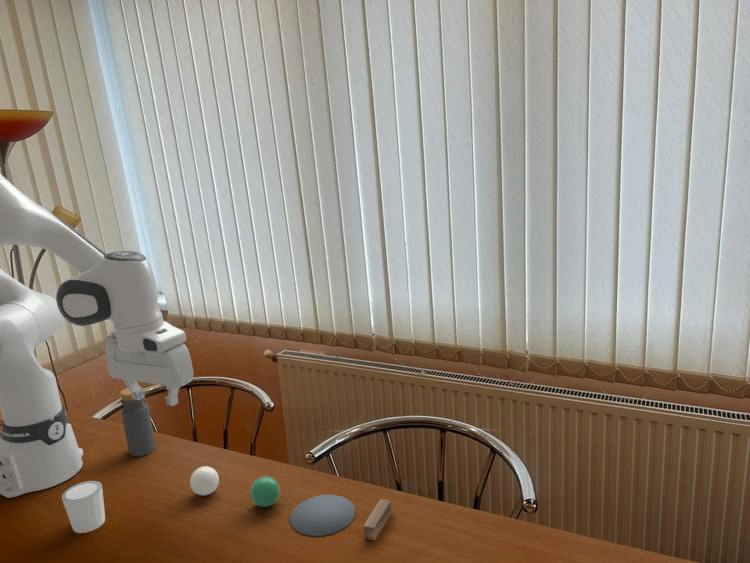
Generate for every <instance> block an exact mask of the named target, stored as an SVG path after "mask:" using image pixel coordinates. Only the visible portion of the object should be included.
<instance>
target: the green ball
mask: <svg viewBox="0 0 750 563" xmlns="http://www.w3.org/2000/svg"><path fill="white" fill-rule="evenodd" d="M280 489H281V488H280V485H279V483H278V482H277V480H275V478H273V477H270V476H265V475H264V476H260V477H259V478H257V479H256V480H255V481H254V482H253V483H252V485H251V487H250V492H249V495H250V499H251V501H252V502H253V504H255V506H258V507H259V508H261V507H262V508H268V507H270V506H273V505H274V504H275V503H276V502H277V500H278V499H279V496H280Z"/></svg>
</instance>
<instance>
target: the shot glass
mask: <svg viewBox="0 0 750 563" xmlns="http://www.w3.org/2000/svg"><path fill="white" fill-rule="evenodd" d="M103 491H104V490H103V484H102V483H101V482H100V481H95V480H88V481H83V482H80V483H76V484H74V485H72V486H70V487H69V488H67V489H66V490H65V491H64V492H63V493H62V495H61V500H62V503H63V506H64V508H65V511H66V514H67V517H68V520H69V522H70V525H71V526H70V527H71V528H72V531H74V532H75V533H77V534H86V533H88V532H89V533H90V532H93V531H94V530H97V529H99V528H100V527H101V526H103V524H104V523H105V521H106V514H105V513H106V512H105V503H104V492H103Z"/></svg>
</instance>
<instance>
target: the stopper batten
mask: <svg viewBox="0 0 750 563" xmlns="http://www.w3.org/2000/svg"><path fill="white" fill-rule="evenodd" d="M392 511H393V510H392V501H391V500H388V499H383V498H380V499H379V500H378V502H377V504H376V505H375V507H374V508H373V510H372V512H371V513H370V515H369V516H368V518H367V519H366V521H365V523H364V524H363V526H362V527H363V538H364V539H365V540H369V541H375V542H376V541H377V539H378V537H379V535H380V534H381V532H382V530H383V529H384V527H385V525H386V523H387V522H388V520H389V518H390V517H391V515H392V513H393V512H392Z"/></svg>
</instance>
